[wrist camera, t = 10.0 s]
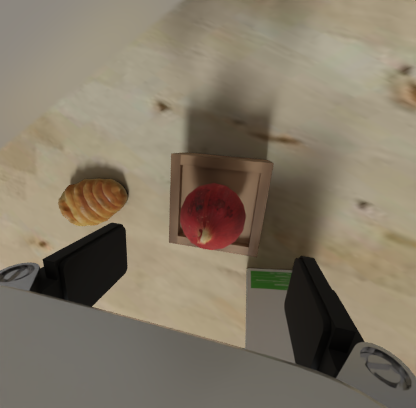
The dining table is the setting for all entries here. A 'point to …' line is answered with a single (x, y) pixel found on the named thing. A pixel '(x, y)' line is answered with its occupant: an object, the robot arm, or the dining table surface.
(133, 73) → the dining table surface
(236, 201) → the onion
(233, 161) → the wooden crate
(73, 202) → the pastry
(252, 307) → the skincare box
